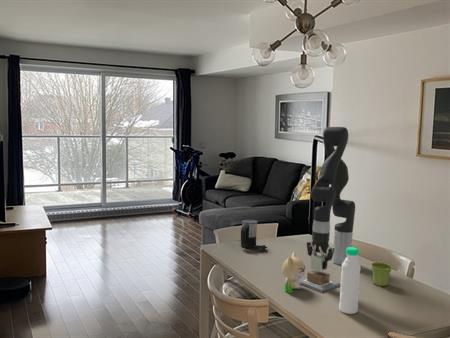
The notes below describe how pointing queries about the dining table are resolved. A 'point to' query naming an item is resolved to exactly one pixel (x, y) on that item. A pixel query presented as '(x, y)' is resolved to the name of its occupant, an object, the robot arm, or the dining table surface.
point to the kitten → (293, 272)
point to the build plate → (316, 287)
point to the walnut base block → (318, 277)
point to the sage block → (317, 263)
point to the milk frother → (249, 234)
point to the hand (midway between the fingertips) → (318, 267)
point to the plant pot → (381, 273)
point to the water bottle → (350, 282)
